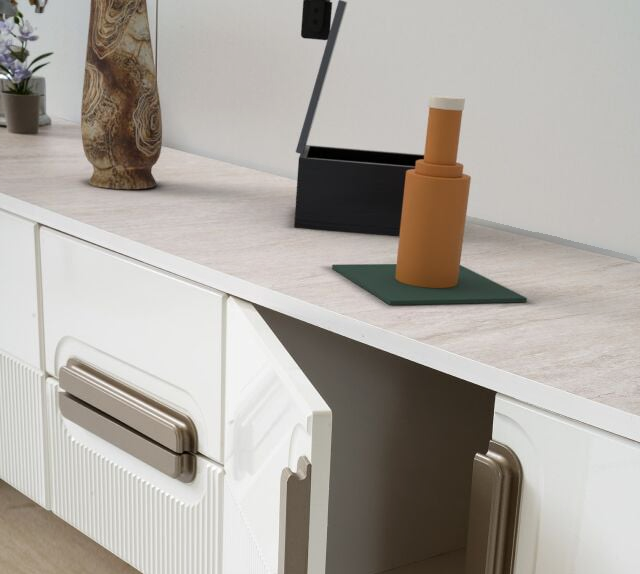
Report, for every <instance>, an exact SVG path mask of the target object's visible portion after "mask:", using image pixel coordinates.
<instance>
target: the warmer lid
mask: <svg viewBox="0 0 640 574" xmlns="http://www.w3.org/2000/svg"><path fill="white" fill-rule="evenodd" d="M347 7H348V1H345V0H338V1H337V5H336V8H335V11H334V15H333V20H332V21H331V22H332V23H331V25H330V33H329V36H328V40H326V43H325V47H324V51H323V54H322V57H321V61H320V65H319V68H318V72H317V75H316V79H315V81H314V86H313V90H312V93H311V97H310V100H309V103H308V106H307V110H306V114H305V117H304V120H303V124H302V128H301V131H300V135H299V138H298V142H297V145H296V148H295V153H296V154H299V155H300V154H303V152H304V150H305V147H306V145H308V142H309V138H310V135H311V132H312V127H313V123H314V121H315V117H316V113H317V110H318V107H319V104H320V100H321V96H322V94H323V93H322V92H323V89H324V86H325V82H326V79H327V76H328V72H329V68H330V65H331V61H332V58H333V55H334V51H335V48H336V44H337V42H338V38H339V35H340V31H341V26H342V23H343V20H344V16H345V13H346V10H347Z"/></svg>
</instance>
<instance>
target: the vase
mask: <svg viewBox="0 0 640 574" xmlns="http://www.w3.org/2000/svg"><path fill="white" fill-rule="evenodd" d="M89 7H90V8H89V9H90V10H89V19H88V20H89V22H88V32H87V43H86V52H85V54H86V55H85V63H84V64H85V65H84V74H83V86H82V95H81V97H82V98H81V108H80V109H81V112H80V113H81V116H80V120H81V121H80V130H81V132H80V133H81V141H82V142H81V143H82V149H83V151H84V155H85V158H86V159H87V161H88V162H89V163H90V164H91V165H92V167H93V171H92V175H91V177H90V179H89V181H88V183H89V185H91V186H93V187H96V188H105V189H113V190H114V189H116V190H143V189H152V188H155V187H156V186H157V185H158V183H157V181H156V179H155V177H154V175H153V173H152V171H153V170H152V169H153V166H154V165H156V164H157V162H158V160H159V158H160V157H161V153H162V146H163V145H162V144H163V122H162V120H163V119H162V108H161V101H160V94H159V93H160V92H159V86H158V81H157V73H156V66H155V59H154V51H153V46H152V45H153V44H152V39H151V30H150V23H149V14H148V5H147V0H90V5H89Z"/></svg>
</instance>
